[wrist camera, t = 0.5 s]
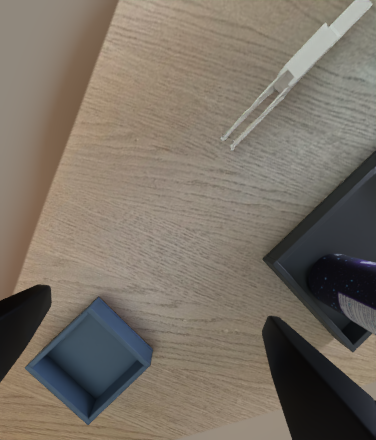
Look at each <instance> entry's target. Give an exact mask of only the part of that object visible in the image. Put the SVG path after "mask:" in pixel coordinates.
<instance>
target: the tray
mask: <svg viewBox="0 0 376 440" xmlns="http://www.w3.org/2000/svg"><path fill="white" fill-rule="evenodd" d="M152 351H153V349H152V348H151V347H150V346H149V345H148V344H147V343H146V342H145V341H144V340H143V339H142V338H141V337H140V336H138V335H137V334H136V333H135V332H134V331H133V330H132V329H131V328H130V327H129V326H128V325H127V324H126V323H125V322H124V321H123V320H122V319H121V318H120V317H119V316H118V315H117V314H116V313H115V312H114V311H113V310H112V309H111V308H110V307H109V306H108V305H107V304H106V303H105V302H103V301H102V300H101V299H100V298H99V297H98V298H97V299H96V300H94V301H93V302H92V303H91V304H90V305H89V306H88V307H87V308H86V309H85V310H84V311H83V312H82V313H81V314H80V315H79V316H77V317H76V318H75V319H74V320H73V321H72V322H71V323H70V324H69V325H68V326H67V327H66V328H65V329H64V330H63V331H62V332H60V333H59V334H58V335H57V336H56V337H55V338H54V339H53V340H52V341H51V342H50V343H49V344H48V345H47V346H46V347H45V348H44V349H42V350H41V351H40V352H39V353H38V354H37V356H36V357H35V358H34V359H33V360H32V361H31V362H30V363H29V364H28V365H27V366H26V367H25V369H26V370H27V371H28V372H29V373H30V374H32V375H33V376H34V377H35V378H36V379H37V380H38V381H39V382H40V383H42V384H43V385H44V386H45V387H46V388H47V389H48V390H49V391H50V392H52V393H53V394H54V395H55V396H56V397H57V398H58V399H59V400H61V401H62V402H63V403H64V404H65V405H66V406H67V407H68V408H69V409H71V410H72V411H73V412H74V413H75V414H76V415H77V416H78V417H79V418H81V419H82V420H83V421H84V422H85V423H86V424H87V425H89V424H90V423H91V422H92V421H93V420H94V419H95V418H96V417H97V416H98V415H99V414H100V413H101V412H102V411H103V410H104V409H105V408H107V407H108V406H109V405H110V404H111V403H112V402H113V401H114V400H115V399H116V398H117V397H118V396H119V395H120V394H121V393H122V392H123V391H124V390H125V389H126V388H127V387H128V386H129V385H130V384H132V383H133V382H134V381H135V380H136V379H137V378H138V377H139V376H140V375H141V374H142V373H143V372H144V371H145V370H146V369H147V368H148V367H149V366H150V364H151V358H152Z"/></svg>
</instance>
